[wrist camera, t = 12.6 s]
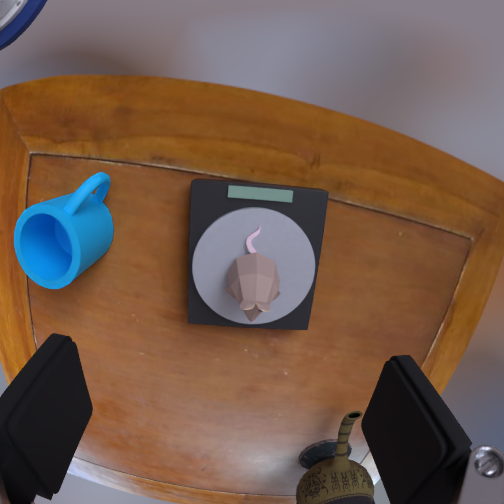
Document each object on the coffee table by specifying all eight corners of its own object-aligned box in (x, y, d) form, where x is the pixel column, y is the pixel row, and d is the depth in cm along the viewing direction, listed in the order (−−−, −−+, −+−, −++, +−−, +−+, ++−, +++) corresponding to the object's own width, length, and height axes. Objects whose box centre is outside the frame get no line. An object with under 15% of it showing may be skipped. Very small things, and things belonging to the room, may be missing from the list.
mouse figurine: (287, 226, 30) (299, 247, 23) (275, 304, 32) (283, 340, 26) (231, 220, 29) (228, 239, 23) (223, 299, 32) (220, 335, 25)
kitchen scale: (195, 178, 31) (190, 181, 28) (322, 189, 32) (331, 193, 29) (191, 312, 36) (186, 327, 33) (303, 319, 36) (308, 334, 33)
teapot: (285, 482, 47) (298, 587, 25) (302, 391, 40) (338, 544, 18) (346, 475, 48) (373, 572, 26) (383, 384, 40) (448, 511, 18)
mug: (91, 275, 34) (58, 305, 26) (44, 231, 32) (4, 252, 24) (147, 194, 32) (119, 207, 24) (93, 148, 30) (54, 149, 22)
